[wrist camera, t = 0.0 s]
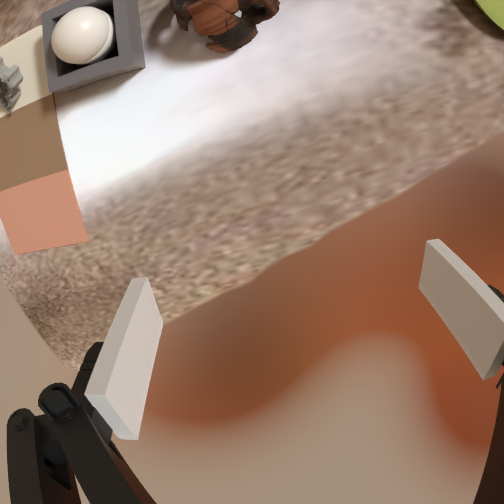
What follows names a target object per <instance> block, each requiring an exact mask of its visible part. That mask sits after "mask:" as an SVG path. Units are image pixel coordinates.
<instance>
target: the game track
mask: <svg viewBox="0 0 504 504" xmlns="http://www.w3.org/2000/svg"><path fill="white" fill-rule="evenodd" d="M0 57H2V58H3V62H4V64H5V65H6V66H7V67H9V68H11V67H12V66H13V65H17V66H19V70H20V73H21V74H22V76H23V81H22V82H21V83H20V84H19V85H18V86H17V87H18V89H19V90H20V91H21V95H20V97H19V98H18V99H17V100H16V102H15V103H14V104H13V105H12V109H11V111H10V112H8V111H7V110H5V109H4V108H2V107H0V216H1V219H2V222H3V225H4V228H5V231H6V233H7V236H8V239H9V241H10V244H11V246H12V249H13V251H14V254H15V255H17V254H22V253H27V252H33V251H38V250H43V249H49V248H54V247H60V246H65V245H71V244H76V243H82V242H88V241H89V238H88V235H87V232H86V229H85V226H84V223H83V219H82V216H81V213H80V210H79V206H78V203H77V199H76V196H75V192H74V189H73V185H72V181H71V178H70V174H69V170H68V166H67V162H66V158H65V153H64V149H63V145H62V140H61V135H60V130H59V125H58V120H57V115H56V109H55V104H54V97H53V93H49V88H48V80H47V73H46V65H45V55H44V45H43V31H42V25H40V26H38V27H36V28H34V29H32V30H30V31H28V32H26V33H25V34H23V35H21V36H19V37H17V38H16V39H14V40H12V41H10V42H9V43H7V44H5V45H4V46H2V47H0Z"/></svg>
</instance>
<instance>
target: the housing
mask: <svg viewBox="0 0 504 504" xmlns="http://www.w3.org/2000/svg"><path fill="white" fill-rule="evenodd" d="M86 6H87V7H95V8H97V9H100V10H102V11H107V10H110V9H113V8H114V18H115V28H116V37H117V46H118V54H119V56H117V57H113V58H110V59H107V60H104V61H101V62H98V63H95V64H92V65H89V66H86V67H83V68H81V69H78V70H75V64H71V63H67V62H64V61H62V60H61V59H59V58H58V57H57V55H56V54H55V53H54V51H53V48H52V44H51V38H52V33H53V30H54V27H55V26H56V24H57V22H58V21H59V20H60V19H61V18H62V17H63V16H64V15H65V14H66V13H68V12H69V11H71V10H73V9H76V8H79V7H86ZM42 31H43V45H44V55H45V65H46V73H47V80H48V88H49V93H55V92H66V91H71V90H73V89H76V88H79V87H82V86H84V85H87V84H90V83H93V82H96V81H99V80H103V79H106V78H109V77H112V76H116V75H119V74H123V73H126V72H130V71H133V70H137V69H141V68H145V61H144V53H143V46H142V38H141V29H140V21H139V11H138V1H137V0H70V1H68V2H66V3H63V4H61V5H59V6H57V7H55V8H53V9H51V10H48V11H46V12H44V13H42Z"/></svg>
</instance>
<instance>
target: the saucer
mask: <svg viewBox="0 0 504 504" xmlns="http://www.w3.org/2000/svg"><path fill="white" fill-rule="evenodd" d="M473 1H474V2H475V3H476V5H477V6H478V7H479V8H480V9H481V11H482V12H483V13H484V14H485V15H486V16H487V17H488V18H489V19H490V20H491V21H493V22H494V23H495V24H496V25H497V26H499V27H500V28H501V29H503V30H504V0H473Z"/></svg>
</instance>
